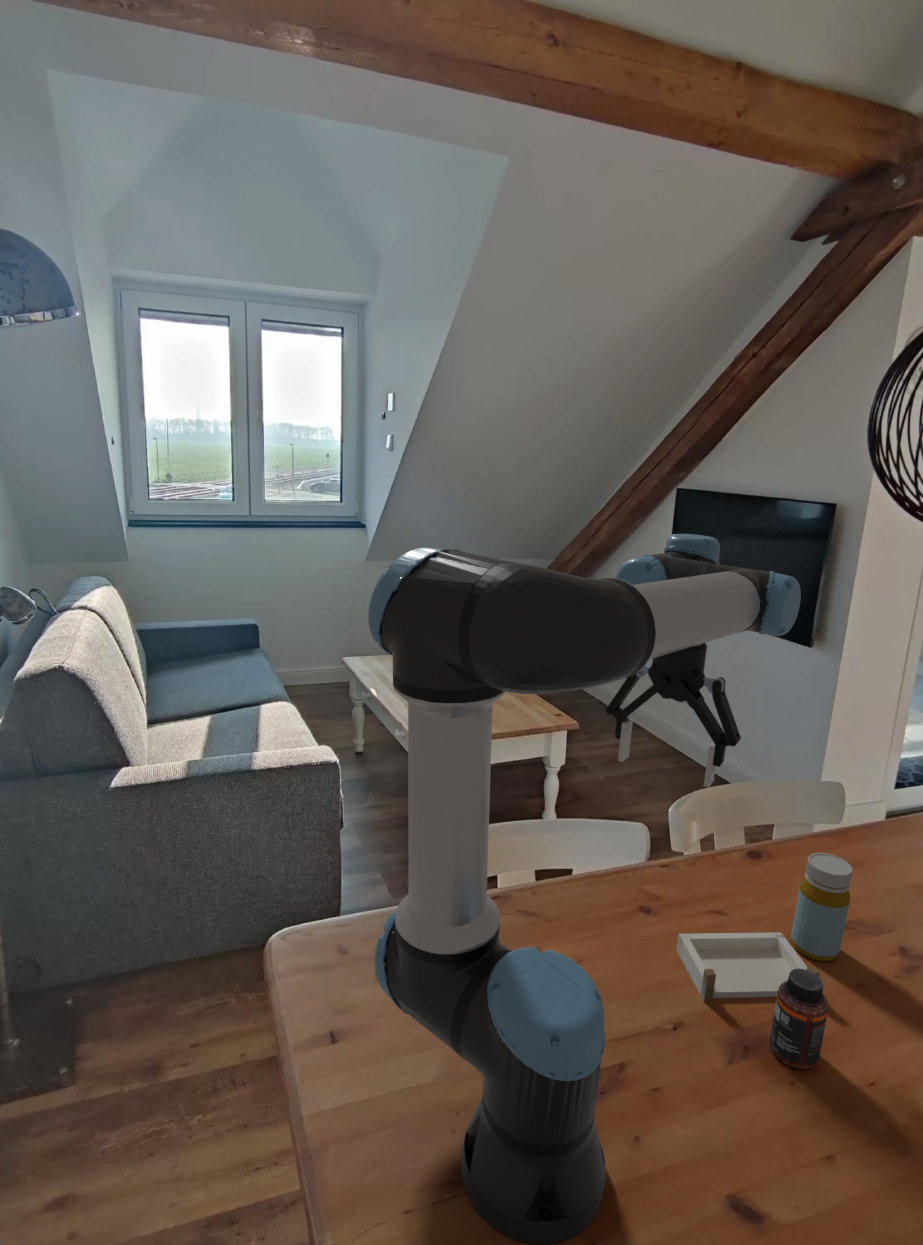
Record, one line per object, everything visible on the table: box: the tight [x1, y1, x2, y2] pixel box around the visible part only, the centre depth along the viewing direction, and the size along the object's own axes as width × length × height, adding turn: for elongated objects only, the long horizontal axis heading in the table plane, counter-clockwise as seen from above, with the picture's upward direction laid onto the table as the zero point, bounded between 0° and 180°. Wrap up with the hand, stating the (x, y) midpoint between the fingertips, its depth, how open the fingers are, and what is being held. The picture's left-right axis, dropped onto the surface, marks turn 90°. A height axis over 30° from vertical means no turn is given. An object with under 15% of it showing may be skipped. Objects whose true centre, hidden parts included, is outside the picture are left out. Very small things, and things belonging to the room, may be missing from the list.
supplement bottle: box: [769, 969, 829, 1070], centre depth 94 cm, size 6×6×11 cm
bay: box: [676, 932, 821, 1003], centre depth 109 cm, size 11×16×4 cm, turn 95°
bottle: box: [790, 852, 853, 962], centre depth 114 cm, size 7×7×15 cm
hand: (664, 771), depth 114 cm, fingers open, 13 cm apart
